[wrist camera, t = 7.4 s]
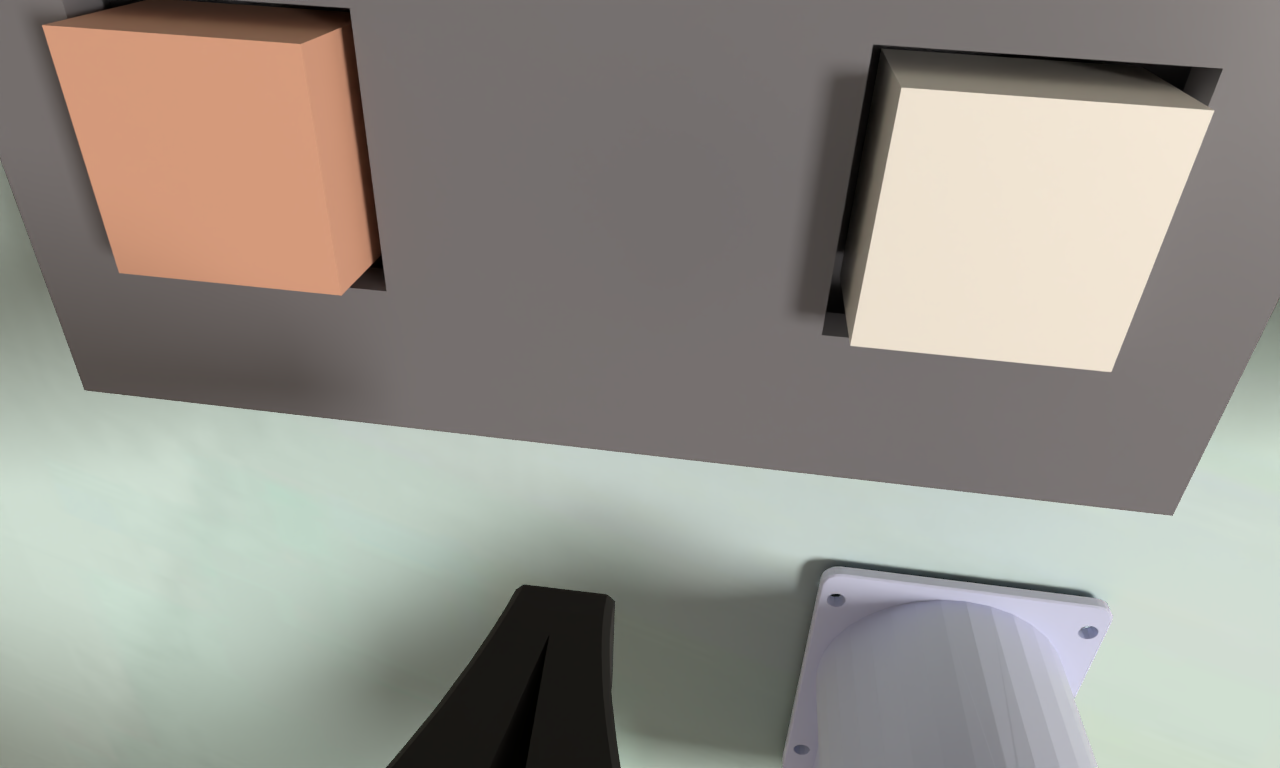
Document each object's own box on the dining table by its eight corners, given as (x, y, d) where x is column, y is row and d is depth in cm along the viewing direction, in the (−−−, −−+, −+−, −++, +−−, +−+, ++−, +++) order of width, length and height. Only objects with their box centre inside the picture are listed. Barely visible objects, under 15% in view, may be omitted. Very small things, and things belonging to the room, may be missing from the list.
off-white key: (1063, 296, 17) (1111, 371, 15) (839, 275, 18) (850, 345, 15) (1141, 66, 15) (1214, 110, 13) (881, 48, 15) (901, 87, 13)
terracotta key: (400, 235, 19) (341, 295, 16) (206, 217, 19) (119, 273, 17) (374, 14, 16) (300, 44, 14) (152, -2, 17) (42, 25, 14)
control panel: (1108, 408, 21) (1172, 515, 18) (185, 311, 23) (84, 390, 20) (1346, -179, 14) (1517, -187, 11) (35, -235, 17) (-151, -257, 13)
